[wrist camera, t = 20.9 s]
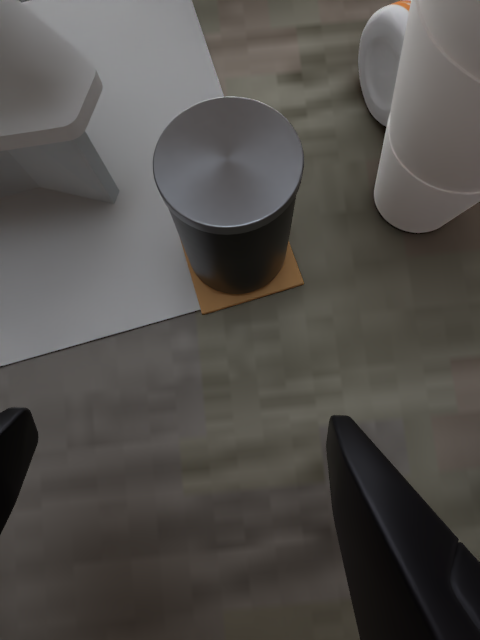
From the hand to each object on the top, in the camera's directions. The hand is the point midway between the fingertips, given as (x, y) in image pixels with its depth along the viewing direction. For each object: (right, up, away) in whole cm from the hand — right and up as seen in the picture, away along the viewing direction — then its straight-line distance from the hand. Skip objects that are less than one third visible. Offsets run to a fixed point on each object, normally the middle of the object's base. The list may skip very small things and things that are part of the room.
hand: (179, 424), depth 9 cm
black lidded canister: (+1, +6, +14) cm, 15 cm away
